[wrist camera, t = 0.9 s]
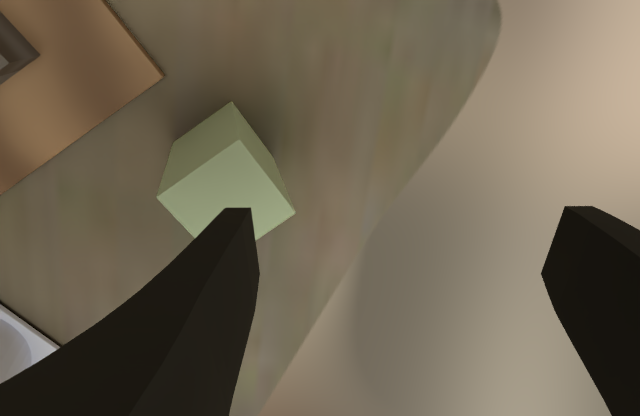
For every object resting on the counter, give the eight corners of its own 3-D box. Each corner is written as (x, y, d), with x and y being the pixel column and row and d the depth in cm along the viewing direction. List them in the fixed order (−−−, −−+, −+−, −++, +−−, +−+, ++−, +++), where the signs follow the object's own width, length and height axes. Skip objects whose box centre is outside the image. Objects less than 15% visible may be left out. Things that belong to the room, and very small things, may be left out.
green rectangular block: (218, 195, 26) (220, 264, 19) (173, 142, 24) (156, 197, 17) (272, 157, 26) (295, 212, 19) (231, 100, 24) (239, 139, 17)
